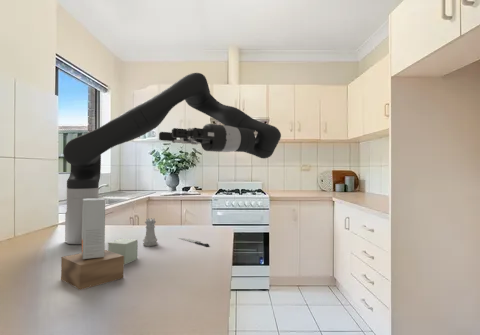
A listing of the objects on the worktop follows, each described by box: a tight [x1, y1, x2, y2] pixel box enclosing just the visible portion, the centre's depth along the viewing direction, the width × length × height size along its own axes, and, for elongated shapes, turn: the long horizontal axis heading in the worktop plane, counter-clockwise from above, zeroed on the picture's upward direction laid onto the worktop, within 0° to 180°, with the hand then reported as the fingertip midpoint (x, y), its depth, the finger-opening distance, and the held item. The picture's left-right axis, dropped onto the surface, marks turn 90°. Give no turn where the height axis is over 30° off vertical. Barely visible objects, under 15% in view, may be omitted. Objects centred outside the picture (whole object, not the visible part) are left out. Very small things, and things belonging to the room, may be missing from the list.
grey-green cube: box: [107, 238, 139, 265], centre depth 81 cm, size 5×5×5 cm
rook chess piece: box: [142, 218, 158, 247], centre depth 98 cm, size 4×4×8 cm
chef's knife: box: [177, 237, 210, 248], centre depth 103 cm, size 19×1×3 cm
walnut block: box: [60, 249, 125, 291], centre depth 67 cm, size 9×9×5 cm
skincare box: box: [81, 197, 106, 259], centre depth 68 cm, size 6×4×12 cm
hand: (165, 134), depth 80 cm, fingers open, 8 cm apart
